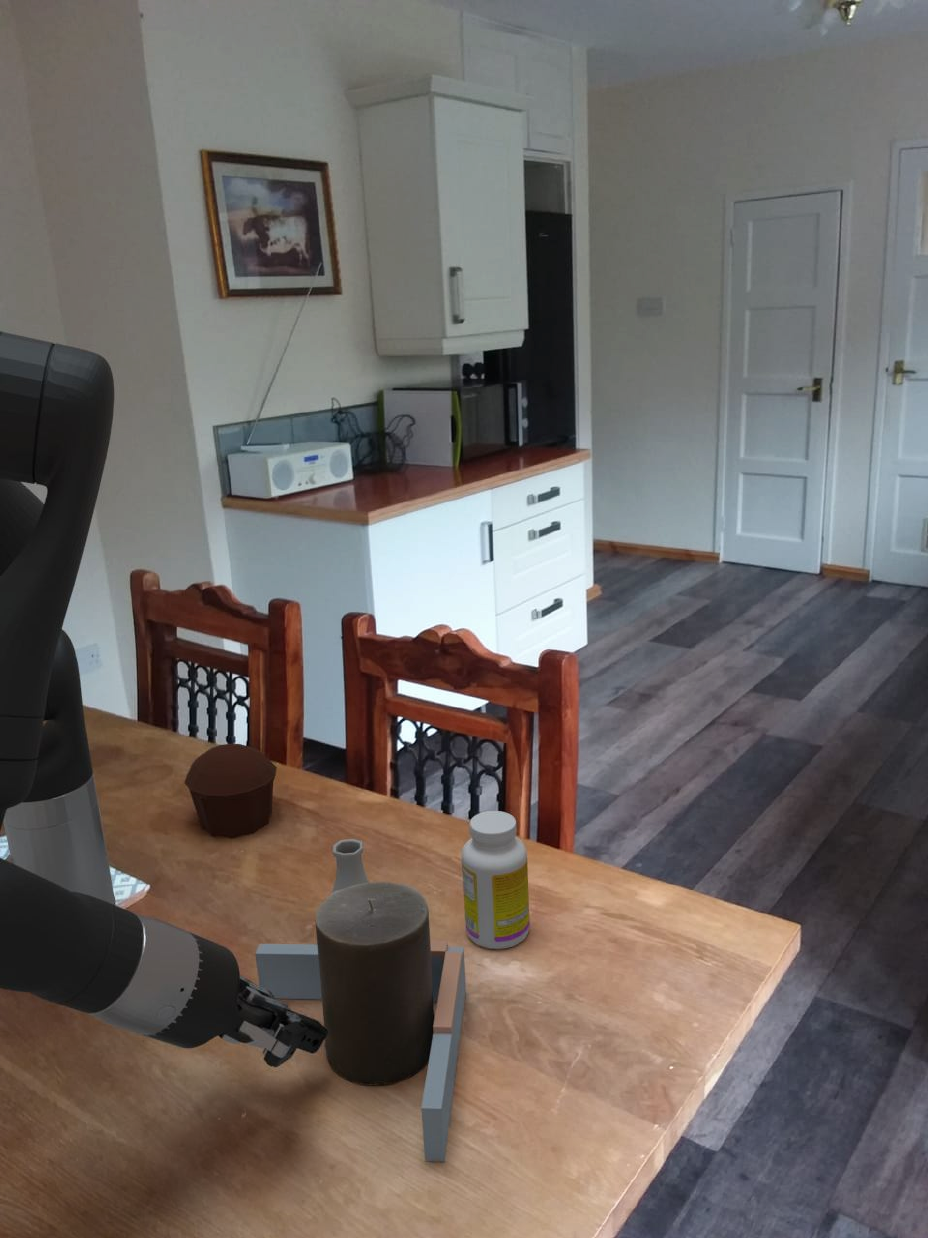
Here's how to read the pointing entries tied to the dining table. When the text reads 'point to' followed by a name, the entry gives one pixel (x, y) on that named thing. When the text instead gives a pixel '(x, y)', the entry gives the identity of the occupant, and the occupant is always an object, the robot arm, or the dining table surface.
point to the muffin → (232, 790)
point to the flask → (349, 864)
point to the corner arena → (299, 978)
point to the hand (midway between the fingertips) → (317, 1037)
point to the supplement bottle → (495, 882)
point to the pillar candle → (376, 981)
